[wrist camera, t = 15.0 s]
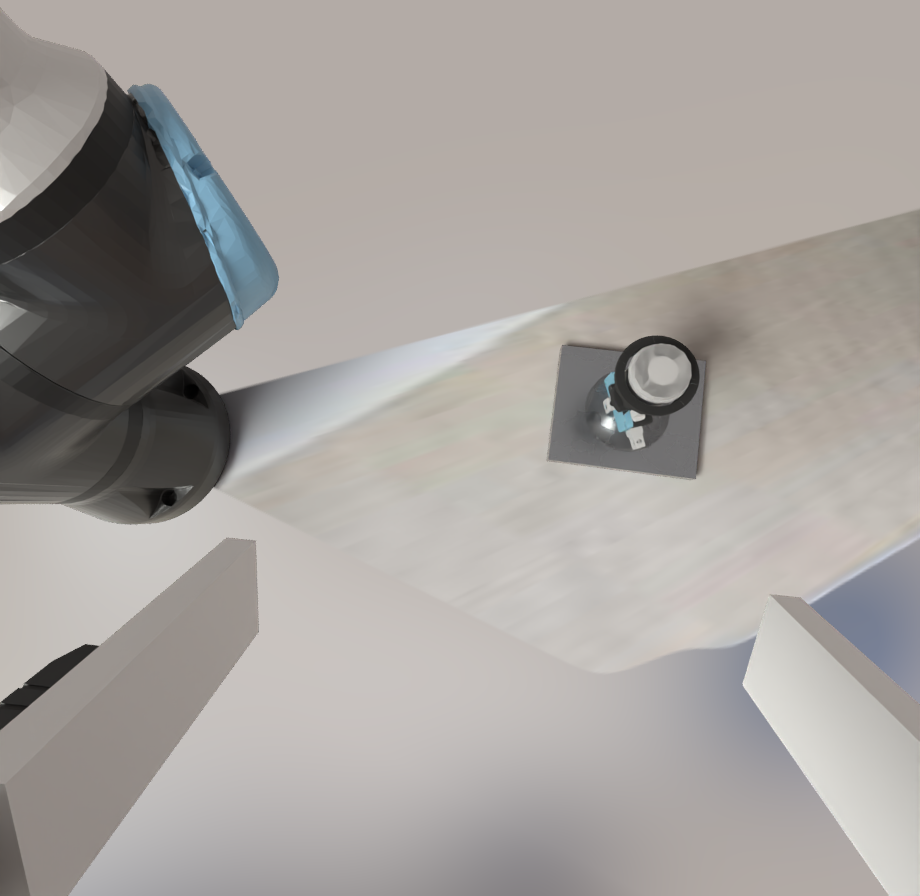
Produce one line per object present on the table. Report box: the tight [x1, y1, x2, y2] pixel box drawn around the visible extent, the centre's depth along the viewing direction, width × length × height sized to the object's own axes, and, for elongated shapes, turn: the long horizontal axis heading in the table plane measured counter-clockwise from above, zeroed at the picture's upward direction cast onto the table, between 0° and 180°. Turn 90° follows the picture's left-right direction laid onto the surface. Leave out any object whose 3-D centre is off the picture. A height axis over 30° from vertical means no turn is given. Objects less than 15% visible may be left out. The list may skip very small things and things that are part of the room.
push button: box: [603, 336, 700, 450], centre depth 35 cm, size 7×5×10 cm
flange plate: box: [547, 345, 706, 480], centre depth 40 cm, size 12×10×1 cm
